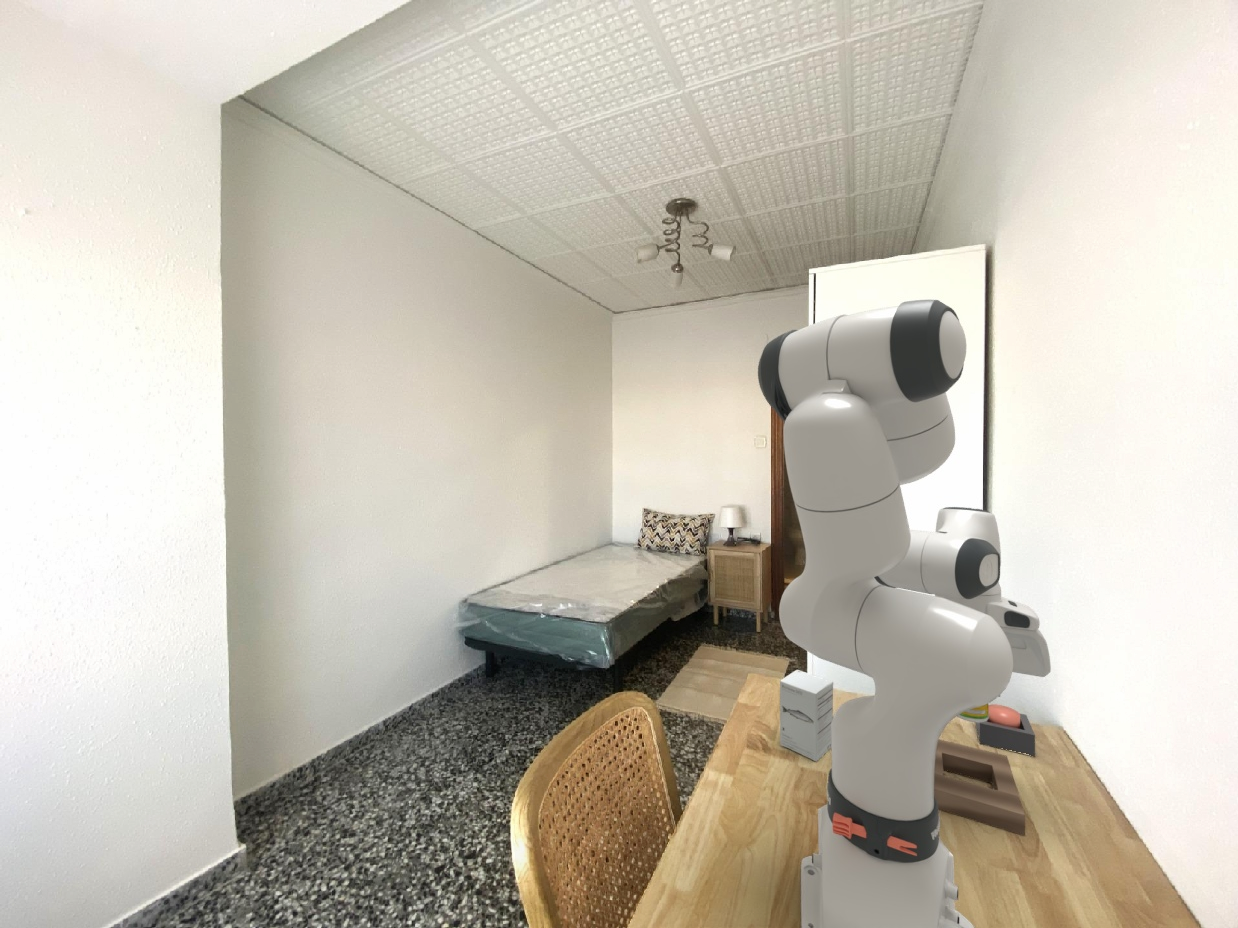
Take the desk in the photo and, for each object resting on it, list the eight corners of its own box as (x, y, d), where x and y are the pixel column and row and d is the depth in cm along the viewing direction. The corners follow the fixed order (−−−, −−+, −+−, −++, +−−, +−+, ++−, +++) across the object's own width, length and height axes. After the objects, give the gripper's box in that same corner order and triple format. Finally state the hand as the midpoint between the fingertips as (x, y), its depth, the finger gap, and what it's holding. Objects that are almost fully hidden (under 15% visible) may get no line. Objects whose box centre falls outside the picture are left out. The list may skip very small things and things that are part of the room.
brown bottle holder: (1025, 835, 69) (1025, 815, 69) (926, 805, 75) (926, 786, 75) (1007, 772, 83) (1006, 755, 83) (924, 751, 89) (924, 735, 89)
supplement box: (778, 745, 92) (778, 679, 91) (797, 730, 96) (797, 667, 96) (816, 763, 86) (815, 693, 86) (834, 746, 91) (834, 680, 91)
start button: (1022, 736, 89) (1022, 720, 89) (988, 729, 92) (988, 713, 91) (1017, 723, 93) (1017, 708, 93) (985, 716, 96) (985, 701, 96)
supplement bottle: (996, 724, 76) (995, 663, 76) (957, 721, 77) (957, 661, 77) (977, 707, 81) (977, 650, 81) (942, 704, 82) (941, 648, 82)
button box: (1035, 757, 87) (1034, 735, 87) (980, 743, 91) (979, 722, 91) (1026, 735, 94) (1026, 714, 94) (975, 723, 98) (975, 704, 98)
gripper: (893, 601, 81) (894, 682, 82) (1053, 621, 71) (1054, 714, 71) (894, 592, 87) (895, 668, 87) (1043, 609, 76) (1044, 695, 76)
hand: (967, 689), depth 79 cm, fingers closed on supplement bottle, 5 cm apart
